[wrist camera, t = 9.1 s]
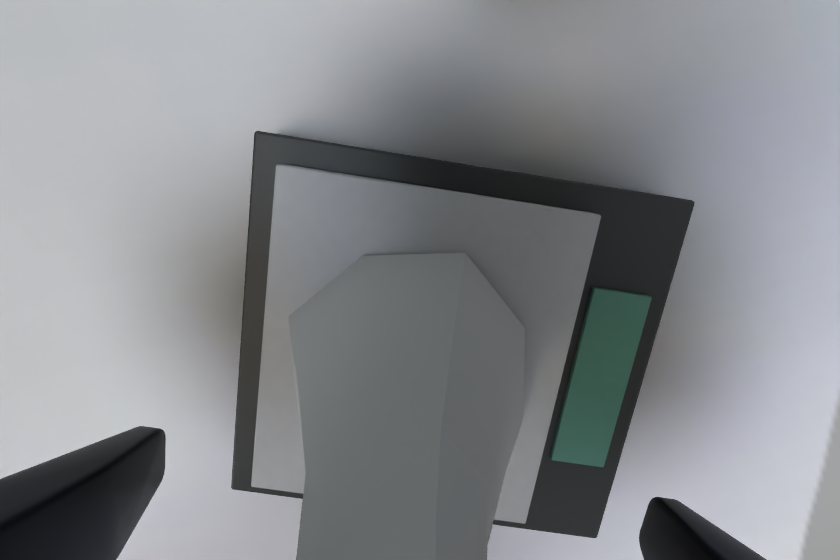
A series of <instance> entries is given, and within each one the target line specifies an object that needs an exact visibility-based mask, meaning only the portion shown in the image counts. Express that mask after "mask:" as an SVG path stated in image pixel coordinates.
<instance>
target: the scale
mask: <svg viewBox="0 0 840 560" xmlns="http://www.w3.org/2000/svg"><path fill="white" fill-rule="evenodd" d="M693 207H694V201H692V200H687V199H681V198H674V197H668V196H662V195H656V194H649V193H643V192H637V191H631V190H624V189H618V188H612V187H605V186H599V185H593V184H587V183H580V182H574V181H568V180H562V179H555V178H549V177H543V176H537V175H530V174H524V173H518V172H511V171H505V170H499V169H493V168H486V167H480V166H474V165H468V164H461V163H455V162H449V161H442V160H436V159H430V158H424V157H417V156H411V155H405V154H399V153H392V152H386V151H380V150H374V149H367V148H361V147H355V146H348V145H342V144H336V143H330V142H323V141H317V140H311V139H305V138H298V137H292V136H286V135H279V134H273V133H267V132H261V131H256V132H255V134H254V150H253V165H252V180H251V195H250V210H249V226H248V241H247V256H246V271H245V286H244V302H243V317H242V332H241V347H240V362H239V378H238V393H237V408H236V423H235V438H234V454H233V469H232V484H231V488H232V489H235V490H242V491H250V492H257V493H264V494H272V495H279V496H287V497H294V498H301V499H303V493H304V484H305V475H306V470H305V459H304V448H303V442H302V436H301V429H300V423H299V416H298V406H297V397H296V387H295V378H294V368H293V359H292V349H291V340H290V330H289V319H288V316H289V315H290V314H292V313H293V312H294V311H295V310H297V309H298V308H299V307H300V306H302V305H303V304H304V303H305V302H307V301H308V300H309V299H310V298H312V297H313V296H314V295H315V294H317V293H318V292H319V291H320V290H321V289H323V288H324V287H325V286H326V285H328V284H329V283H330V282H331V281H333V280H334V279H335V278H336V277H338V276H339V275H340V274H341V273H343V272H344V271H345V270H346V269H347V268H349V267H350V266H351V265H352V264H354V263H355V262H356V261H357V260H359V259H360V258H361V257H362V256H370V255H402V254H435V253H466V254H467V255H468V257H469V258H470V259H471V260H472V262H473V263H474V264H475V265H476V267H477V268H478V269H479V271H480V272H481V273H482V274H483V276H484V277H485V278H486V279H487V281H488V282H489V283H490V284H491V286H492V287H493V288H494V290H495V291H496V292H497V293H498V295H499V296H500V297H501V298H502V300H503V301H504V302H505V303H506V305H507V306H508V307H509V309H510V310H511V311H512V312H513V314H514V315H515V316H516V317H517V319H518V320H519V321H520V323H521V324H522V325H523V326H524V328H525V352H524V396H523V419H522V423H521V427H520V431H519V434H518V437H517V440H516V443H515V446H514V449H513V452H512V455H511V458H510V461H509V464H508V467H507V469H506V473H505V477H504V481H503V485H502V489H501V493H500V497H499V501H498V505H497V509H496V513H495V517H494V521H493V524H494V525H501V526H509V527H516V528H524V529H531V530H538V531H546V532H553V533H561V534H568V535H575V536H583V537H590V538H596V537H597V535H598V531H599V528H600V525H601V521H602V518H603V514H604V511H605V508H606V504H607V501H608V497H609V494H610V490H611V487H612V484H613V480H614V477H615V473H616V470H617V466H618V463H619V460H620V456H621V453H622V449H623V446H624V443H625V439H626V436H627V432H628V429H629V425H630V422H631V419H632V415H633V412H634V408H635V405H636V402H637V398H638V395H639V391H640V388H641V384H642V381H643V378H644V374H645V371H646V367H647V364H648V361H649V357H650V354H651V350H652V347H653V343H654V340H655V337H656V333H657V330H658V326H659V323H660V320H661V316H662V313H663V309H664V306H665V302H666V299H667V296H668V292H669V289H670V285H671V282H672V278H673V275H674V272H675V268H676V265H677V261H678V258H679V255H680V251H681V248H682V244H683V241H684V237H685V234H686V231H687V227H688V224H689V220H690V217H691V214H692V210H693Z"/></svg>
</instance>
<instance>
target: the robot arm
mask: <svg viewBox="0 0 840 560" xmlns="http://www.w3.org/2000/svg"><path fill="white" fill-rule="evenodd" d="M165 439H166V438H165V433H164V431H163V430H162V429H159V428H152V427H145V426H139V427H136V428H133V429H131V430H128V431H125V432H123V433H120V434H118V435H115V436H112V437H110V438H107V439H104V440H102V441H99V442H97V443H94V444H91V445H89V446H86V447H83V448H81V449H78V450H76V451H73V452H70V453H68V454H65V455H62V456H60V457H57V458H55V459H52V460H49V461H47V462H44V463H42V464H39V465H36V466H34V467H31V468H28V469H26V470H23V471H21V472H18V473H15V474H13V475H10V476H7V477H5V478H2V479H0V560H116V559H117V558H118V556H119V554H120V553H121V551H122V549H123V547H124V546H125V544H126V542H127V540H128V539H129V537H130V535H131V534H132V532H133V530H134V528H135V527H136V525H137V523H138V521H139V520H140V518H141V516H142V514H143V513H144V511H145V509H146V507H147V506H148V504H149V502H150V500H151V499H152V497H153V495H154V493H155V492H156V490H157V488H158V486H159V485H160V483H161V481H162V478H163V475H164V471H165ZM639 543H640V548H641V551H642V554H643V557H644V560H766V559H765V558H763V557H762V556H760V555H759V554H757V553H756V552H754V551H753V550H751V549H750V548H748V547H747V546H745V545H744V544H742V543H741V542H739V541H738V540H736V539H735V538H733V537H732V536H730V535H729V534H727V533H726V532H724V531H723V530H721V529H720V528H718V527H717V526H715V525H714V524H712V523H711V522H709V521H708V520H706V519H705V518H703V517H702V516H700V515H699V514H697V513H696V512H694V511H693V510H691V509H690V508H688V507H687V506H685V505H684V504H682V503H681V502H679V501H677V500H675V499H668V498H661V497H655V498H653V499H652V500H651V501H650V503H649V505H648V508H647V511H646V514H645V518H644V521H643V524H642V527H641V530H640V535H639Z"/></svg>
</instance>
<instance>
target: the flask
mask: <svg viewBox="0 0 840 560" xmlns="http://www.w3.org/2000/svg"><path fill="white" fill-rule="evenodd" d="M288 319H289V330H290V340H291V349H292V359H293V368H294V378H295V387H296V397H297V406H298V416H299V423H300V429H301V436H302V442H303V448H304V459H305V470H306V475H305V484H304V493H303V502H302V511H301V521H300V530H299V539H298V548H297V557H296V560H487V545H488V541H489V537H490V533H491V529H492V525H493V521H494V517H495V513H496V509H497V505H498V501H499V497H500V493H501V489H502V485H503V481H504V477H505V473H506V469H507V467H508V464H509V461H510V458H511V455H512V452H513V449H514V446H515V443H516V440H517V437H518V434H519V431H520V427H521V423H522V419H523V396H524V352H525V328H524V326H523V325H522V324H521V323H520V321H519V320H518V319H517V317H516V316H515V315H514V314H513V312H512V311H511V310H510V309H509V307H508V306H507V305H506V303H505V302H504V301H503V300H502V298H501V297H500V296H499V295H498V293H497V292H496V291H495V290H494V288H493V287H492V286H491V284H490V283H489V282H488V281H487V279H486V278H485V277H484V276H483V274H482V273H481V272H480V271H479V269H478V268H477V267H476V265H475V264H474V263H473V262H472V260H471V259H470V258H469V257H468V255H467V254H466V253H435V254H402V255H370V256H362V257H361V258H360V259H359V260H357V261H356V262H355V263H354V264H352V265H351V266H350V267H349V268H347V269H346V270H345V271H344V272H343V273H341V274H340V275H339V276H338V277H336V278H335V279H334V280H333V281H331V282H330V283H329V284H328V285H326V286H325V287H324V288H323V289H321V290H320V291H319V292H318V293H317V294H315V295H314V296H313V297H312V298H310V299H309V300H308V301H307V302H305V303H304V304H303V305H302V306H300V307H299V308H298V309H297V310H295V311H294V312H293V313H292V314H290V315H289V316H288Z"/></svg>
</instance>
